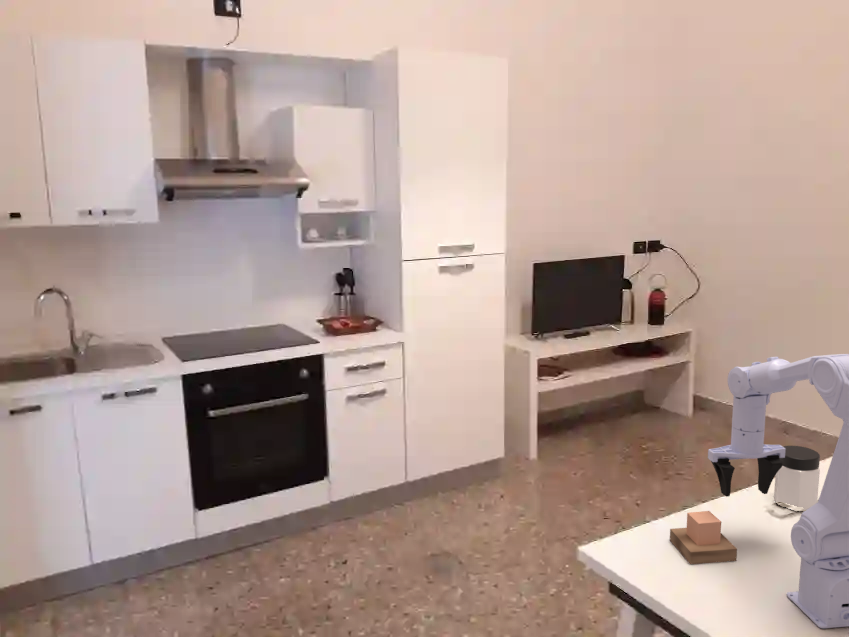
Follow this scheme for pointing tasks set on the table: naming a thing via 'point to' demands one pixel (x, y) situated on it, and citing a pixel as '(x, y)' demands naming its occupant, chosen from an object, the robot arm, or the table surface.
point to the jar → (798, 477)
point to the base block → (702, 548)
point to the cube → (703, 528)
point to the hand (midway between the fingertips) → (744, 493)
